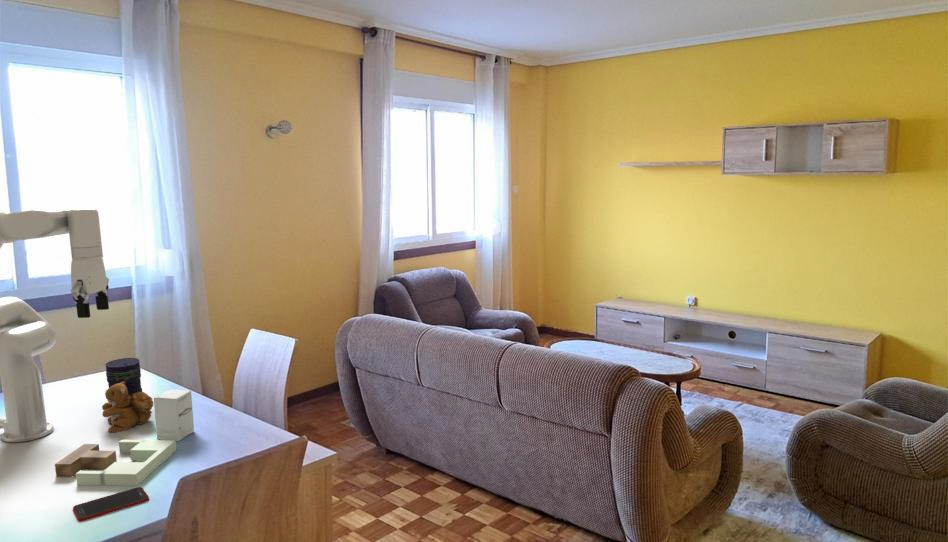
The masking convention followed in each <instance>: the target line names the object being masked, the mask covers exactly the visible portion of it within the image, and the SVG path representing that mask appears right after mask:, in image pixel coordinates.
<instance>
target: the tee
mask: <svg viewBox="0 0 948 542" xmlns="http://www.w3.org/2000/svg"><path fill="white" fill-rule="evenodd" d="M114 462H118V461H117V452H116V450H100V444H99V443H84V444H82V445H80V446H79V447H78V448H76V449H75V450H73V451H72V452H71V453H69V454H67V455H66V456H64V457H63V458H61V459H60V460H59V461H57V462H56V463H54V468H55V477H56V478H73V477H74V476H76V475H75V474H76V473H77V472H79V471H80V470H81V471H104V470H105V469H107V468H108V467H109V466H110V465H112V464H113V463H114ZM72 476H73V477H72Z"/></svg>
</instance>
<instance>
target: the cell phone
mask: <svg viewBox="0 0 948 542" xmlns="http://www.w3.org/2000/svg"><path fill="white" fill-rule="evenodd" d="M148 501H150V497H149V495H148V494H147V492H146V491H145V490H144V489H143V487H141V486H139V487H137V486H136V487H133V488H130V489H127V490H123V491H120V492H116V493H113V494H109V495H106V496H103V497H99V498H96V499H92V500H90V501H89V500H88V501H85V502H82V503H78V504H76V505H73V507H72V511H73V514H74V515H75V518H76V520H77V521H78V522H83V521H84V522H85V521H88V520H92V519H95V518H97V517H101V516H104V515H107V514H110V513H113V512H117V511H120V510H123V509H126V508H130V507H133V506H136V505H137V506H138V505H140V504H144V503H147V502H148Z"/></svg>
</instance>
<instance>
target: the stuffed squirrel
mask: <svg viewBox="0 0 948 542" xmlns="http://www.w3.org/2000/svg"><path fill="white" fill-rule="evenodd" d="M104 394H105V399H106V401H107V402H104V404H102V407H101V409H102V410H103V412H102V417H103V418H107V422H108V423H109V424H112V425H110V426H109V428H108V429H107V431H108V433H116V432H122V431H126V430H128V429H130V428H132V427H133V426H135V425H142V424H146V422H147V421H148V420H149V419H150V418H151V417H152V413H153V412H152V409H153V407H154V400H153V398H152V397H151V396H149V395H148V393H146V392H144V391H142V392H139V393H135V394H134V395H132V397H130V396H129V394H128V390H127V387H126V386H125V382H121V383H118V384H115V385H113V386H111V387H110V388H109V387H108V388H107V390H105V392H104ZM109 401H112V402H109Z"/></svg>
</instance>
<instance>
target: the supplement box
mask: <svg viewBox="0 0 948 542" xmlns="http://www.w3.org/2000/svg"><path fill="white" fill-rule="evenodd" d="M153 407H154V419H155V430H156V431H155V432H156V440H159V439H160V440H175V441H176V442H180V441H181V440H183V439H184V438H186V437H187V436H188V435H191V434H192V433H193V432H194V431H195V426H194V425H195V424H194V411H193V400H192V390H188V389H187V390H184V389H183V390H182V389H167V390H166V391H164V392H162V393H161V394H159V395H156V396H154V397H153Z"/></svg>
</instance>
